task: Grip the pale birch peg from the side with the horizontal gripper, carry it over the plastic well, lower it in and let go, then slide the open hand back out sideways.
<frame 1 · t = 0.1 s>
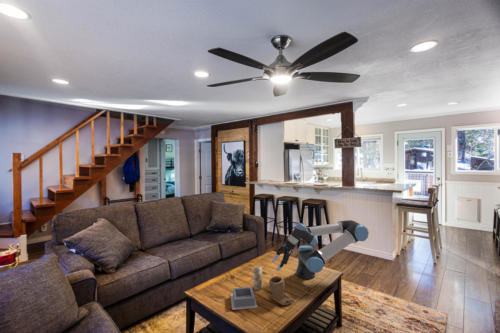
hand: (275, 266, 176), 15 cm above the table, fingers open, 13 cm apart
well: (243, 301, 159), on the table
peg: (257, 288, 175), on the table
stone cup: (279, 301, 159), on the table
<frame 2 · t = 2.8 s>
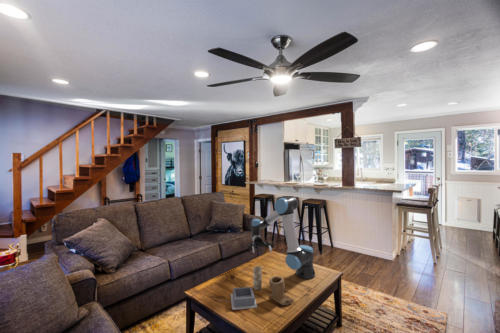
hand: (262, 250, 183), 24 cm above the table, fingers open, 13 cm apart
nothing on the table moved.
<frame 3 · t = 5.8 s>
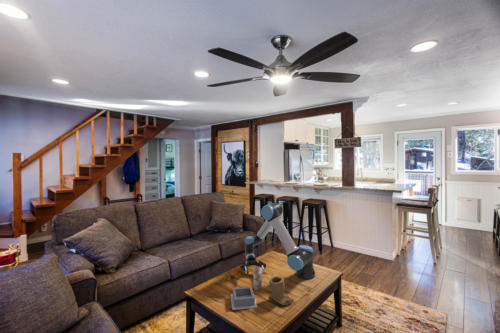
hand: (255, 271, 182), 8 cm above the table, fingers open, 13 cm apart
nothing on the table moved.
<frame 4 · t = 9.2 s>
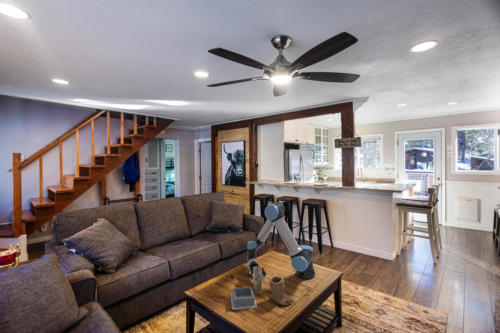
hand: (258, 280, 169), 9 cm above the table, fingers closed on peg, 6 cm apart
peg: (257, 288, 175), on the table, touching gripper
everything else where it was.
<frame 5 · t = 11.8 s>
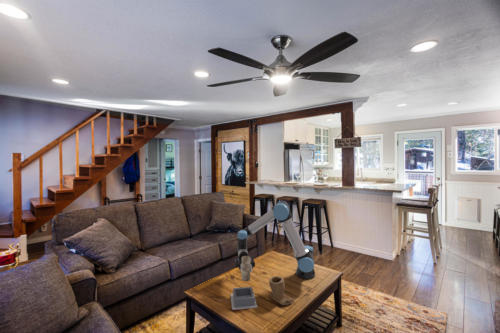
hand: (246, 270, 159), 20 cm above the table, fingers closed on peg, 6 cm apart
peg: (245, 279, 164), point 12 cm above the table, touching gripper
everything else where it was.
when the fingers open (11 cm above the table, at t = 14.8 s): peg drops 2 cm, resting on well.
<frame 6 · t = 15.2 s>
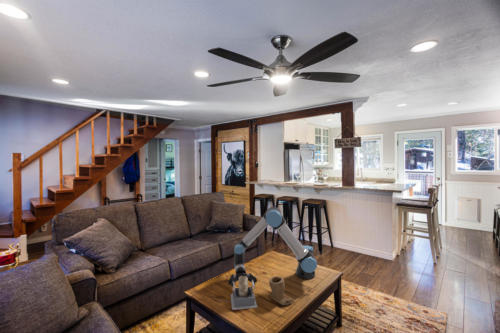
hand: (244, 287, 155), 11 cm above the table, fingers open, 12 cm apart
peg: (243, 300, 159), point 1 cm above the table, touching well
everything else where it was.
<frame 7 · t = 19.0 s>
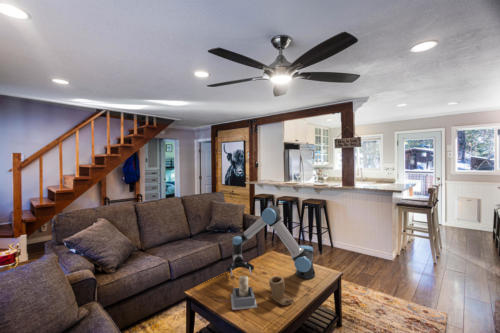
hand: (241, 273, 169), 13 cm above the table, fingers open, 13 cm apart
nothing on the table moved.
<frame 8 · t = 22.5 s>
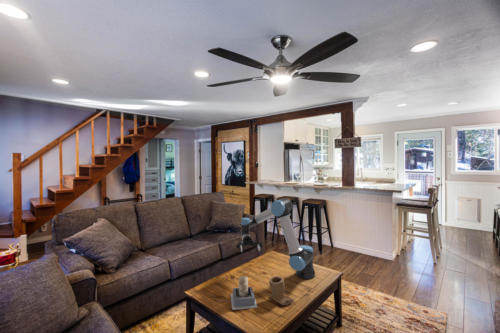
hand: (250, 249, 179), 26 cm above the table, fingers open, 13 cm apart
nothing on the table moved.
at the end: peg 0.1 cm off-centre on the well, point 0.7 cm above the well's base; the gripper is holding nothing; peg tilted 2° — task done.
